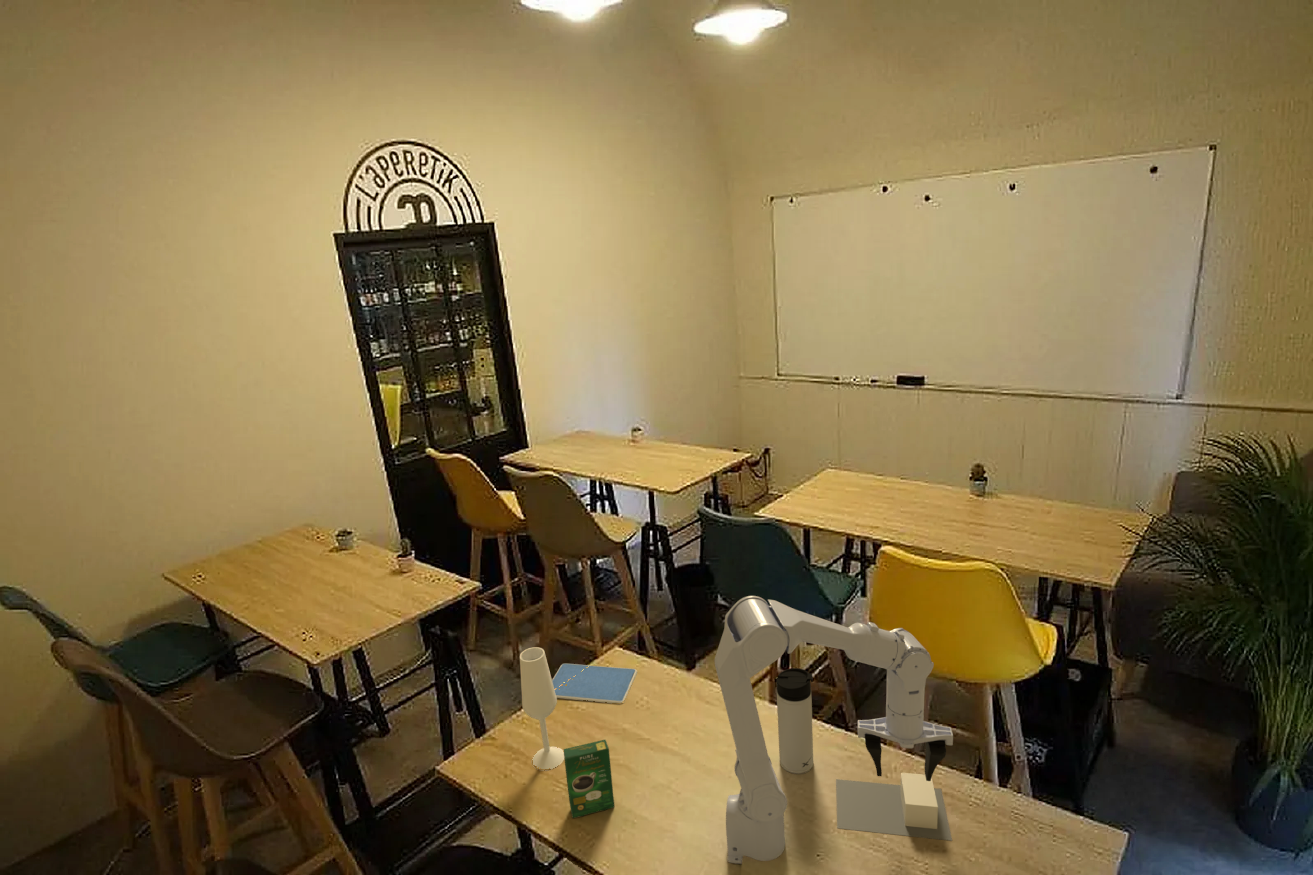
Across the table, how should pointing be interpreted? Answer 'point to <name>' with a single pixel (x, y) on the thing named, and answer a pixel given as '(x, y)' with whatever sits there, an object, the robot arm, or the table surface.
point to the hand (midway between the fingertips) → (903, 774)
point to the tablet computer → (593, 683)
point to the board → (882, 810)
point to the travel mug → (795, 720)
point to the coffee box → (589, 778)
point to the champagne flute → (539, 702)
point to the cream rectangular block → (918, 801)
